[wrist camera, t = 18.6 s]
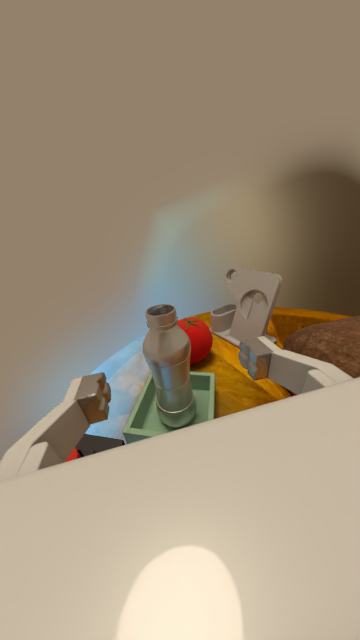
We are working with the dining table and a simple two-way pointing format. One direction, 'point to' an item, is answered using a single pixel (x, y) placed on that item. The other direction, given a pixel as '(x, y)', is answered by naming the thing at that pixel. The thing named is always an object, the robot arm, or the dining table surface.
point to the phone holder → (246, 306)
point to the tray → (145, 414)
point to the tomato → (197, 338)
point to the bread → (330, 344)
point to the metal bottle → (169, 365)
